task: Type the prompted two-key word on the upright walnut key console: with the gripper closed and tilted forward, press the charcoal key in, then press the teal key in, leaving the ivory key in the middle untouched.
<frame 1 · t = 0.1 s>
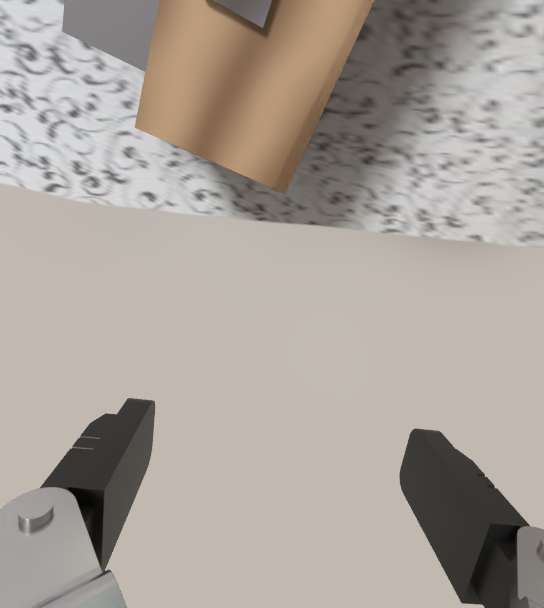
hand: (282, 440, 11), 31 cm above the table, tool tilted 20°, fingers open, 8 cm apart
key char: (155, 36, 24), point 7 cm above the table, slide at 0.0 cm
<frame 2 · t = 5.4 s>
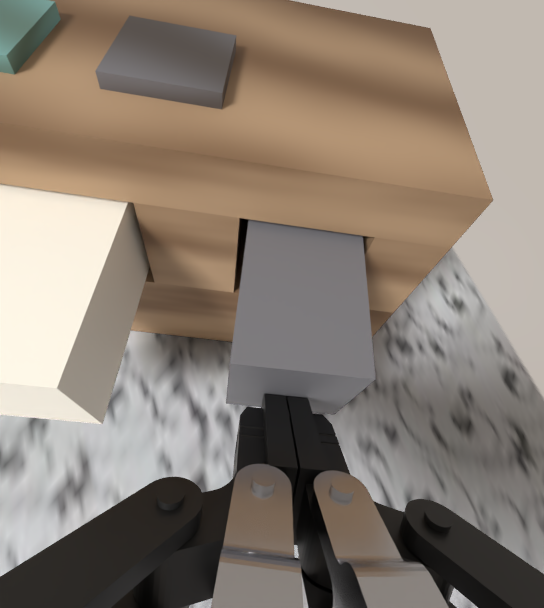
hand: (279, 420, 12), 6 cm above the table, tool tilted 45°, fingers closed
console: (126, 329, 19), on the table
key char: (295, 266, 14), point 8 cm above the table, slide at 1.1 cm, touching gripper
key ivory: (72, 261, 13), point 8 cm above the table, slide at 0.0 cm
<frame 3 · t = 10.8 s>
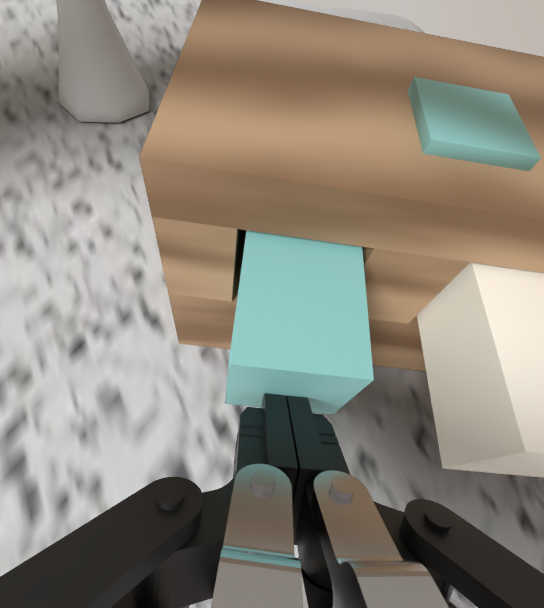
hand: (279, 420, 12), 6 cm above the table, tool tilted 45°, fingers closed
console: (404, 368, 21), on the table
flask: (107, 102, 30), on the table
key ivory: (495, 326, 14), point 8 cm above the table, slide at 0.0 cm
key teal: (294, 267, 14), point 8 cm above the table, slide at 1.5 cm, touching gripper
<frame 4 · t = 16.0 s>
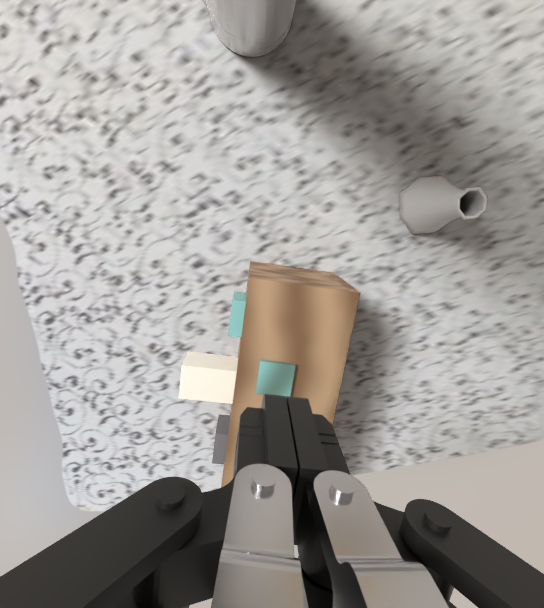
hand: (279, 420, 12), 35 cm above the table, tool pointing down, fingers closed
console: (238, 354, 49), on the table
flask: (424, 205, 45), on the table
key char: (256, 441, 44), point 7 cm above the table, slide at 4.6 cm
key ivory: (226, 378, 41), point 7 cm above the table, slide at 0.0 cm
key teal: (275, 318, 40), point 7 cm above the table, slide at 4.6 cm
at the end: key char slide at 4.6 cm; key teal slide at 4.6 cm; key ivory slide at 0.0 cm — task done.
